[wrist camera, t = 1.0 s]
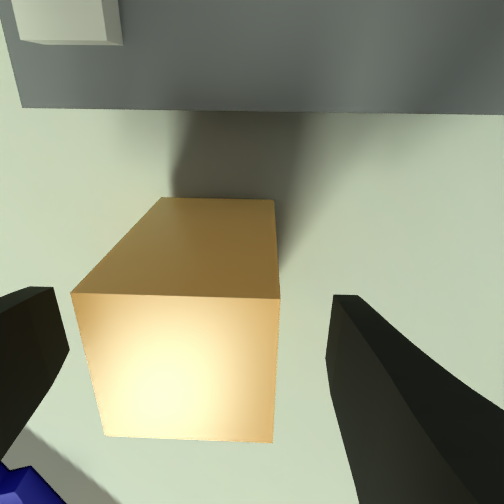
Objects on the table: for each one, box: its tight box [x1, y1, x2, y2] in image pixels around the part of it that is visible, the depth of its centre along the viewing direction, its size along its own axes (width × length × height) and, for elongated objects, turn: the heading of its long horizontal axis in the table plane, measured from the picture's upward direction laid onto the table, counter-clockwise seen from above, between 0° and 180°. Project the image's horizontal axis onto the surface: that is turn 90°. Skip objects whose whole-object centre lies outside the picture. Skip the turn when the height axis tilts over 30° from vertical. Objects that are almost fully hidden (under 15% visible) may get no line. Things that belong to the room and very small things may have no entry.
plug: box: [70, 197, 280, 443], centre depth 11 cm, size 4×4×7 cm
